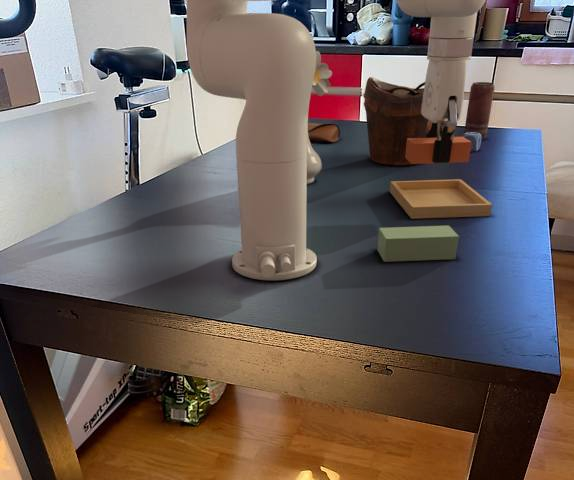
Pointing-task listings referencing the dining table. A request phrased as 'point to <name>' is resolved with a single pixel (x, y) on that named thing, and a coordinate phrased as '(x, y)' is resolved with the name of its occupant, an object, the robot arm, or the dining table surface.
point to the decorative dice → (473, 140)
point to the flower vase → (312, 157)
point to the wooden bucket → (392, 120)
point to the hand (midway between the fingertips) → (436, 157)
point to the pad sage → (417, 243)
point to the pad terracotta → (423, 149)
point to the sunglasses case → (323, 132)
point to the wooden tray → (439, 199)
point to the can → (479, 108)
